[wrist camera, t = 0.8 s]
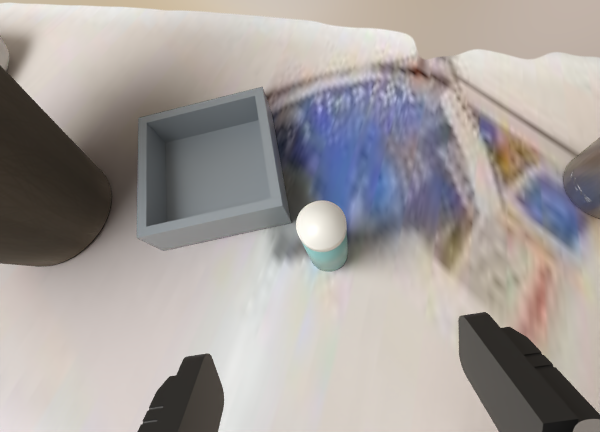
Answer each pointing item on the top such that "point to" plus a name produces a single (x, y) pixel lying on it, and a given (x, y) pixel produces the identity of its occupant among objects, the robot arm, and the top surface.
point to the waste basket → (44, 185)
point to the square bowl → (4, 55)
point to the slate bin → (209, 172)
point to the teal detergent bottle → (323, 234)
